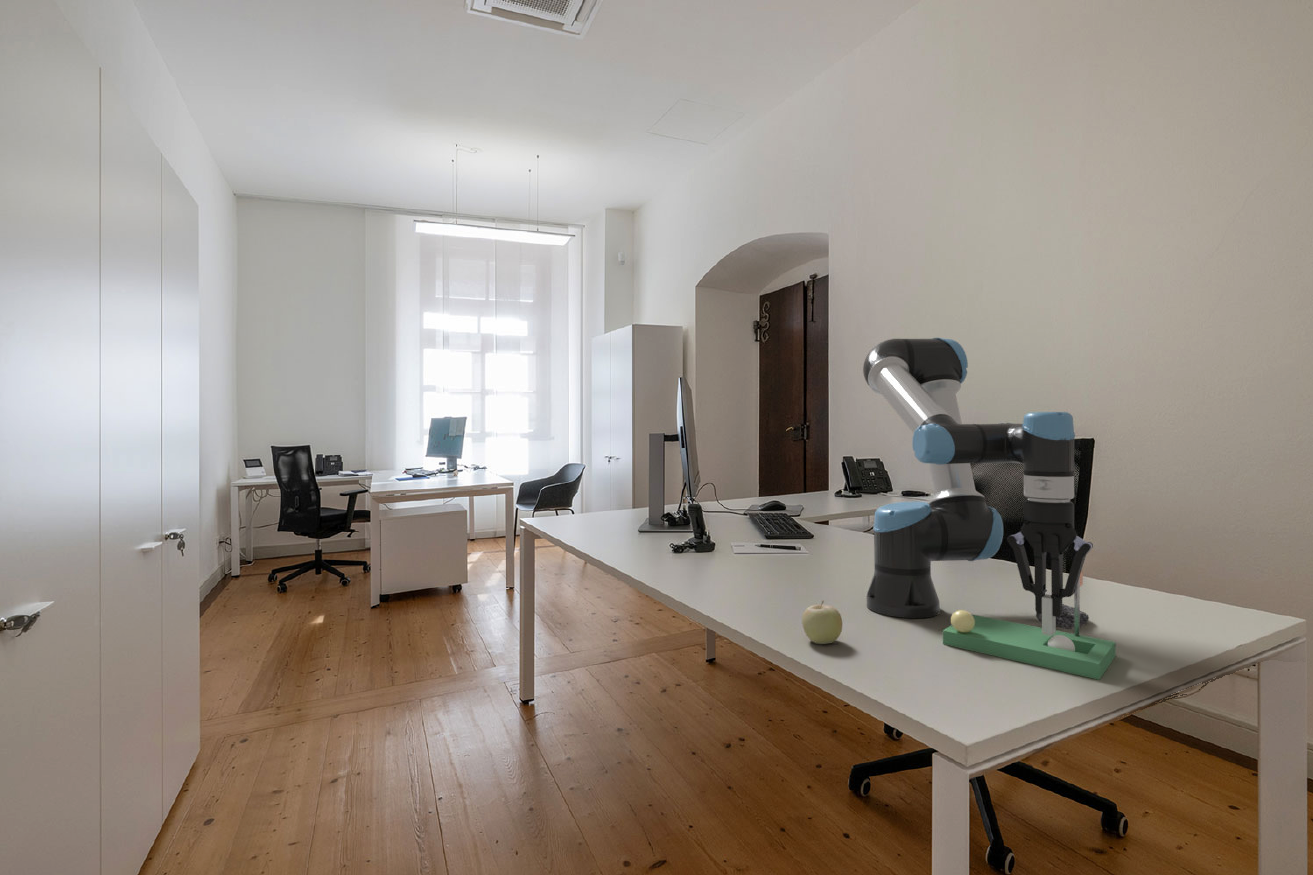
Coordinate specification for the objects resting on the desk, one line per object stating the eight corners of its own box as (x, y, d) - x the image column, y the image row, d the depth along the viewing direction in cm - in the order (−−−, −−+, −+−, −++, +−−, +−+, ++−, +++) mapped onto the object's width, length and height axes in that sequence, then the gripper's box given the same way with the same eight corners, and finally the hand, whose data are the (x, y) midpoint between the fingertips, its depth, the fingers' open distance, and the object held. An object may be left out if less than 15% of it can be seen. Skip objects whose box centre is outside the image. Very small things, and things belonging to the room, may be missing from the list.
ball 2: (1053, 664, 107) (1040, 641, 108) (1058, 659, 109) (1045, 637, 111) (1078, 657, 104) (1064, 634, 106) (1082, 652, 107) (1068, 629, 109)
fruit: (849, 647, 115) (849, 603, 114) (812, 650, 113) (811, 606, 113) (831, 633, 122) (831, 593, 122) (795, 636, 121) (795, 595, 121)
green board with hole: (942, 643, 116) (942, 630, 116) (969, 626, 125) (969, 613, 125) (1099, 679, 99) (1099, 663, 99) (1115, 656, 108) (1115, 641, 108)
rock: (1097, 622, 128) (1096, 602, 128) (1071, 631, 122) (1071, 610, 122) (1057, 613, 134) (1057, 594, 134) (1031, 621, 129) (1031, 601, 129)
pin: (1073, 635, 112) (1073, 574, 112) (1079, 630, 115) (1079, 570, 115) (1079, 636, 111) (1079, 575, 111) (1084, 631, 114) (1084, 571, 114)
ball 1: (947, 632, 114) (947, 610, 114) (955, 627, 117) (955, 606, 117) (970, 637, 112) (970, 615, 112) (978, 631, 114) (978, 610, 114)
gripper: (1000, 498, 111) (1001, 630, 111) (1088, 504, 102) (1088, 647, 102) (1013, 495, 116) (1013, 620, 117) (1097, 500, 107) (1097, 636, 108)
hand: (1048, 633), depth 109 cm, fingers closed
